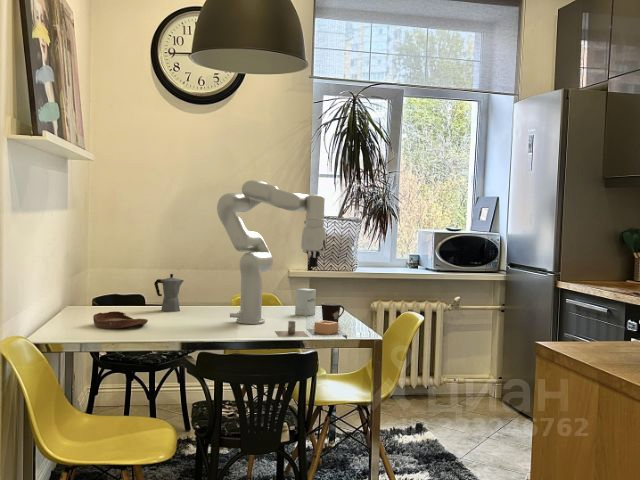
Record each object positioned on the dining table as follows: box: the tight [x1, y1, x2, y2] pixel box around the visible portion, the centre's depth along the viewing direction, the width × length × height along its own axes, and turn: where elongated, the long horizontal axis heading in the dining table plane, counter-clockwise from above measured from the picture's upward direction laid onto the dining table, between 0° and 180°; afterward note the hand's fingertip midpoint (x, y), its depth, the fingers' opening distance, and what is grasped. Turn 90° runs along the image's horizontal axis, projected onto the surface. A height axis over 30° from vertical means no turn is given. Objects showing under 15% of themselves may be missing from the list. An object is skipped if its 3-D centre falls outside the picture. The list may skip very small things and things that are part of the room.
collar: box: [313, 320, 339, 334], centre depth 273 cm, size 7×7×4 cm
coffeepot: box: [154, 273, 184, 313], centre depth 325 cm, size 15×9×18 cm, turn 129°
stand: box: [274, 320, 309, 338], centre depth 266 cm, size 12×12×6 cm
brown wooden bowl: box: [92, 311, 149, 329], centre depth 277 cm, size 22×20×5 cm
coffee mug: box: [320, 302, 345, 323], centre depth 297 cm, size 12×9×10 cm
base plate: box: [306, 323, 348, 340], centre depth 273 cm, size 14×14×5 cm
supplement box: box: [294, 287, 317, 317], centre depth 329 cm, size 7×7×13 cm
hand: (313, 266), depth 284 cm, fingers closed
